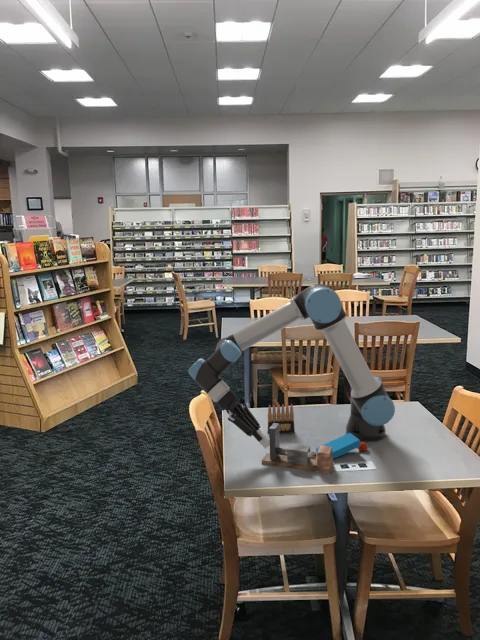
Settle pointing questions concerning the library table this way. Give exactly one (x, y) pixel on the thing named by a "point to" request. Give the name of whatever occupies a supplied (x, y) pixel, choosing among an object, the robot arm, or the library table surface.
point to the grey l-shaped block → (275, 444)
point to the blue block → (345, 445)
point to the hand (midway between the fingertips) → (268, 445)
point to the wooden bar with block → (303, 459)
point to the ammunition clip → (282, 419)
